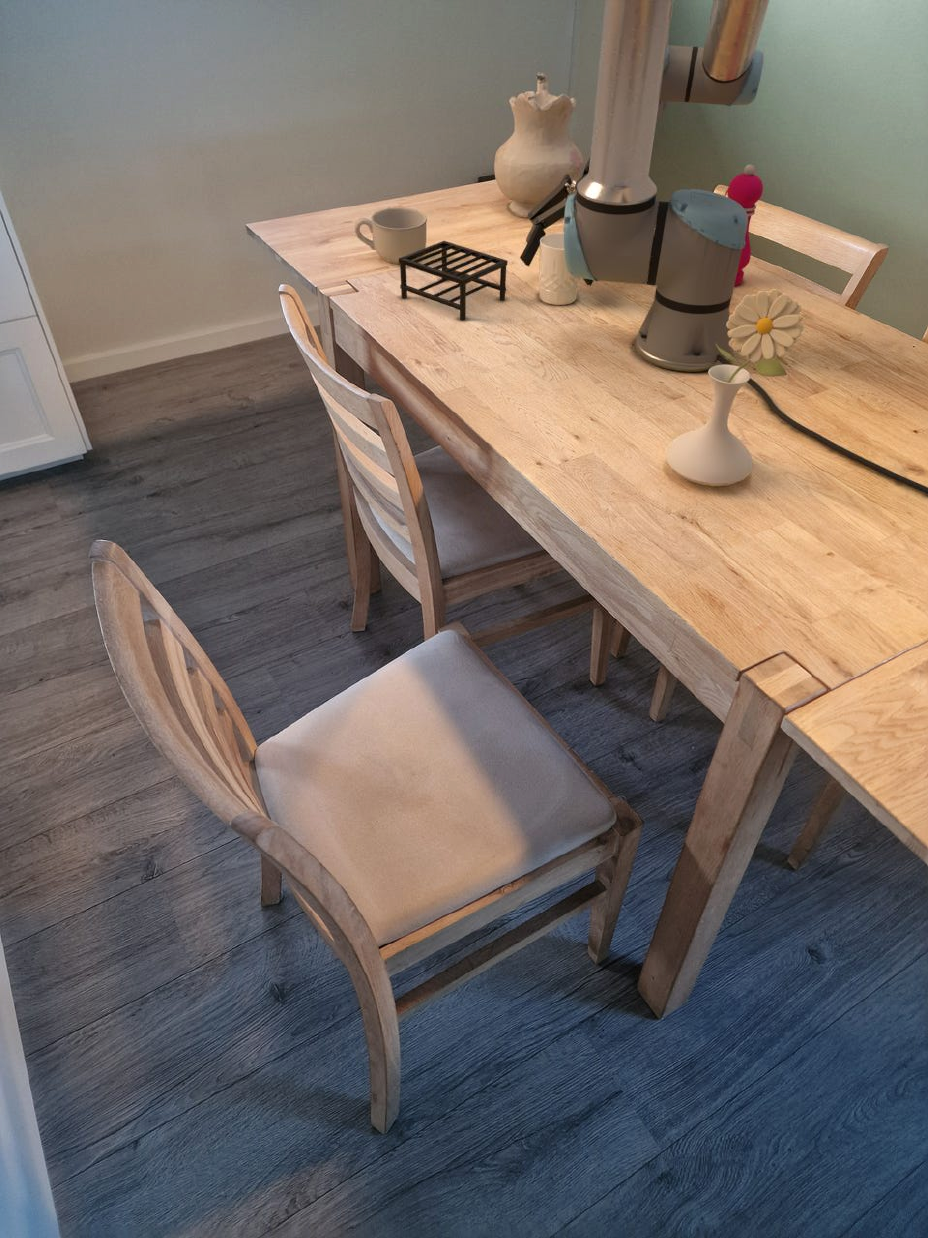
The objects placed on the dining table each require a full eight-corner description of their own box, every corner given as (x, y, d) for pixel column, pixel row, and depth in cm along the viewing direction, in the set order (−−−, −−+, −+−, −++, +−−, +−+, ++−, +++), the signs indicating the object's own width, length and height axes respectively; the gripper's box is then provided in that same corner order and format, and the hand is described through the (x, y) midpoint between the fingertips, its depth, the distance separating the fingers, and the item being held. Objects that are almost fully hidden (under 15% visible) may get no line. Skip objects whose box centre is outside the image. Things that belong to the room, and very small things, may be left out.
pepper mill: (752, 284, 157) (780, 168, 144) (720, 289, 155) (745, 172, 142) (730, 270, 162) (755, 156, 149) (698, 275, 160) (721, 160, 147)
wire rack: (506, 299, 151) (507, 260, 147) (463, 320, 145) (463, 280, 140) (444, 278, 158) (443, 240, 154) (400, 297, 152) (398, 258, 147)
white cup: (529, 291, 154) (533, 235, 147) (569, 287, 156) (574, 231, 149) (545, 308, 149) (550, 251, 142) (586, 303, 150) (592, 246, 143)
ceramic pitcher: (486, 198, 197) (480, 75, 179) (566, 187, 198) (568, 64, 181) (505, 230, 181) (501, 99, 164) (592, 218, 183) (597, 86, 165)
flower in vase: (645, 469, 111) (680, 280, 94) (694, 437, 117) (735, 255, 100) (730, 510, 105) (784, 316, 87) (777, 475, 110) (837, 286, 93)
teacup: (431, 249, 169) (430, 207, 164) (424, 270, 161) (422, 226, 156) (363, 247, 170) (360, 205, 165) (353, 266, 162) (349, 223, 157)
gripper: (680, 187, 143) (620, 301, 145) (562, 159, 155) (508, 264, 157) (669, 160, 137) (607, 279, 139) (547, 133, 148) (491, 243, 150)
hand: (554, 271), depth 148 cm, fingers open, 13 cm apart
